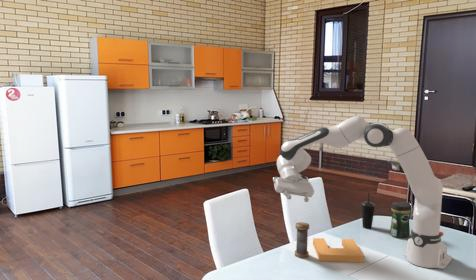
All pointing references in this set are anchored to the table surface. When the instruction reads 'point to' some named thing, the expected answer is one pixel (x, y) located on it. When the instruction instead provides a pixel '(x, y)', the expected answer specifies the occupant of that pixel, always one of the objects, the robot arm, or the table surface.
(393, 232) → the coffee jar
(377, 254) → the table surface
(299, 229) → the cord spool
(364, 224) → the drinking cup
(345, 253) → the orange notched slab
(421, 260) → the robot arm
